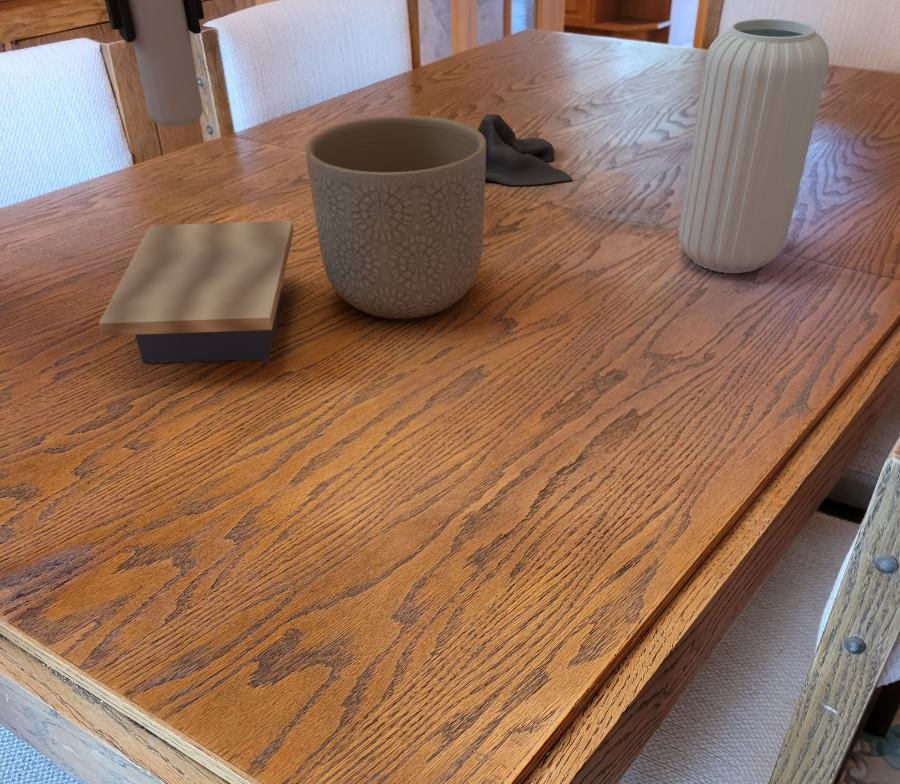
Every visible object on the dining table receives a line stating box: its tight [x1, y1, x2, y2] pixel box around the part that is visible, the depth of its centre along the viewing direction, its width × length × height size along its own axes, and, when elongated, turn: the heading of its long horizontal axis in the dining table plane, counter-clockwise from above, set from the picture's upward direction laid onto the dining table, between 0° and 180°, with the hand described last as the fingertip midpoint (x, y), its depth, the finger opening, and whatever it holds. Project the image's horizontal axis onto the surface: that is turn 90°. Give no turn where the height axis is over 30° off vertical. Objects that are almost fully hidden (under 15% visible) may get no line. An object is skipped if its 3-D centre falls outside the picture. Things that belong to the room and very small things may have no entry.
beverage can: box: [127, 0, 204, 127], centre depth 77 cm, size 5×5×12 cm
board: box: [98, 220, 295, 336], centre depth 87 cm, size 15×22×1 cm
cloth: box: [477, 113, 573, 187], centre depth 122 cm, size 22×19×6 cm
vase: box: [677, 18, 830, 274], centre depth 93 cm, size 12×12×22 cm
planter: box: [305, 114, 486, 320], centre depth 90 cm, size 17×17×15 cm
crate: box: [134, 287, 284, 364], centre depth 89 cm, size 12×14×5 cm
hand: (160, 32), depth 76 cm, fingers closed on beverage can, 4 cm apart
